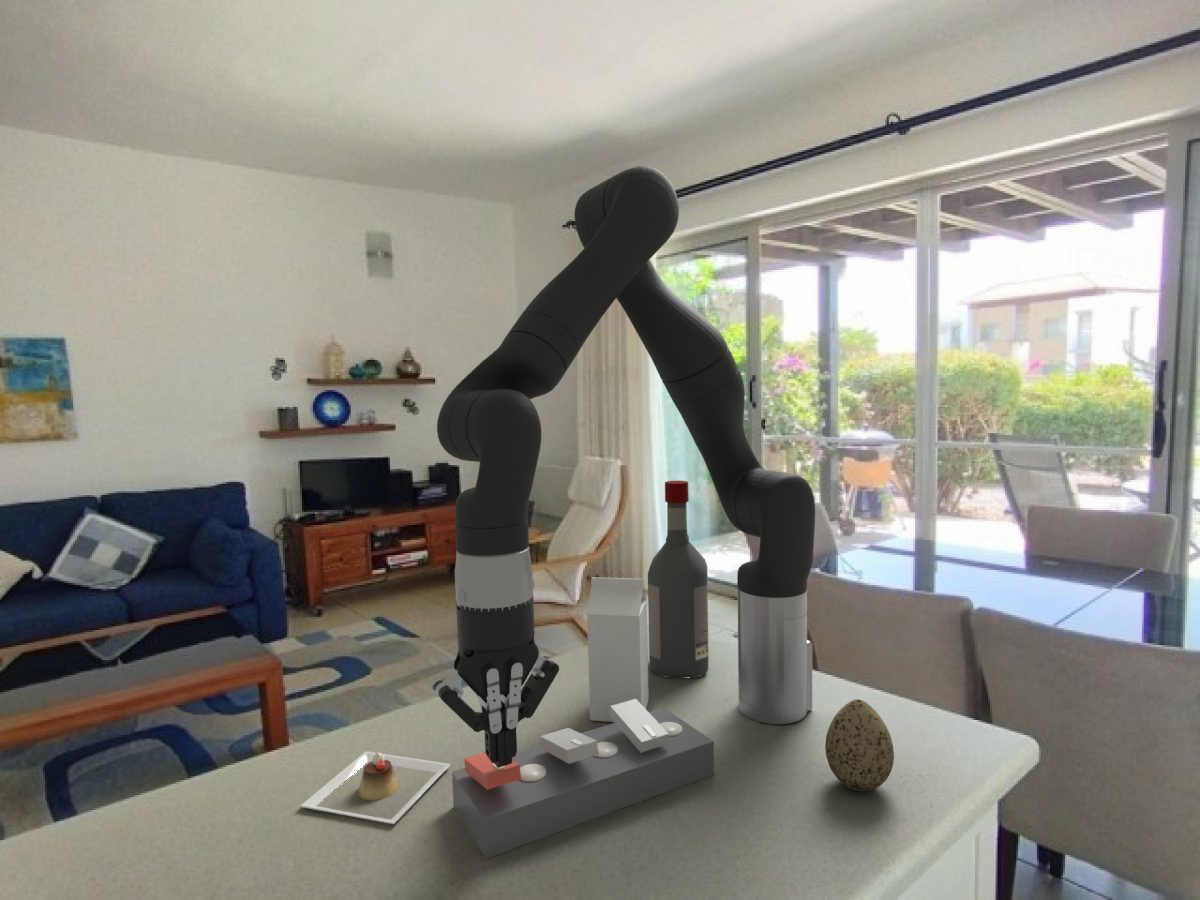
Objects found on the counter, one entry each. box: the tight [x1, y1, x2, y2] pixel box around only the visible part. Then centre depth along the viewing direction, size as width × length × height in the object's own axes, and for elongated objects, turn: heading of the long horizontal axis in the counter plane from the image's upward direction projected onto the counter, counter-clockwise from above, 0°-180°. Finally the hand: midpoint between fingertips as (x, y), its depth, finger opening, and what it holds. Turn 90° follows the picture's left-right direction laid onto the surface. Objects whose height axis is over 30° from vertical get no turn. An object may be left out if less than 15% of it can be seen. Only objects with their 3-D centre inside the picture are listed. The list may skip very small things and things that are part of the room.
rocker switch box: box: [451, 707, 715, 860], centre depth 79 cm, size 28×10×4 cm, turn 120°
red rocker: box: [463, 752, 521, 790], centre depth 73 cm, size 4×7×2 cm, turn 30°
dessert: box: [299, 751, 451, 825], centre depth 81 cm, size 12×12×5 cm
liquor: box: [647, 480, 710, 679], centre depth 112 cm, size 9×9×30 cm
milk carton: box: [586, 576, 650, 723], centre depth 97 cm, size 7×7×19 cm
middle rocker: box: [539, 727, 599, 764], centre depth 78 cm, size 4×7×2 cm, turn 30°
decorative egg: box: [824, 699, 895, 792], centre depth 78 cm, size 7×7×10 cm
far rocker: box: [610, 699, 669, 753], centre depth 82 cm, size 4×7×2 cm, turn 30°
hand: (501, 762), depth 71 cm, fingers closed
